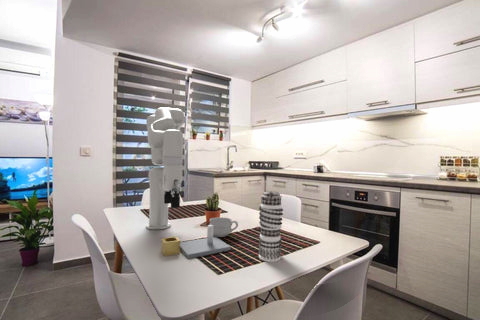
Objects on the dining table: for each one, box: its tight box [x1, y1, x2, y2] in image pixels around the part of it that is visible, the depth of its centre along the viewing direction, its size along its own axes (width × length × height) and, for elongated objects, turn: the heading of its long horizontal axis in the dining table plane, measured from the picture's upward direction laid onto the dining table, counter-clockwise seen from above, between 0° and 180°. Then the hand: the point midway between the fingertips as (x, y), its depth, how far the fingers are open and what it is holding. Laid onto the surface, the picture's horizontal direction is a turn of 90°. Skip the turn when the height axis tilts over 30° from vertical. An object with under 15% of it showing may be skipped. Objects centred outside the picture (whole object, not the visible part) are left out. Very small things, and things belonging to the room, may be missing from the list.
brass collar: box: [160, 236, 181, 257], centre depth 95 cm, size 6×6×5 cm
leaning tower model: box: [258, 190, 284, 263], centre depth 93 cm, size 9×9×25 cm
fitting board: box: [180, 224, 231, 259], centre depth 100 cm, size 14×18×9 cm
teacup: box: [209, 216, 239, 238], centre depth 117 cm, size 14×11×8 cm
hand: (171, 205), depth 95 cm, fingers open, 9 cm apart
